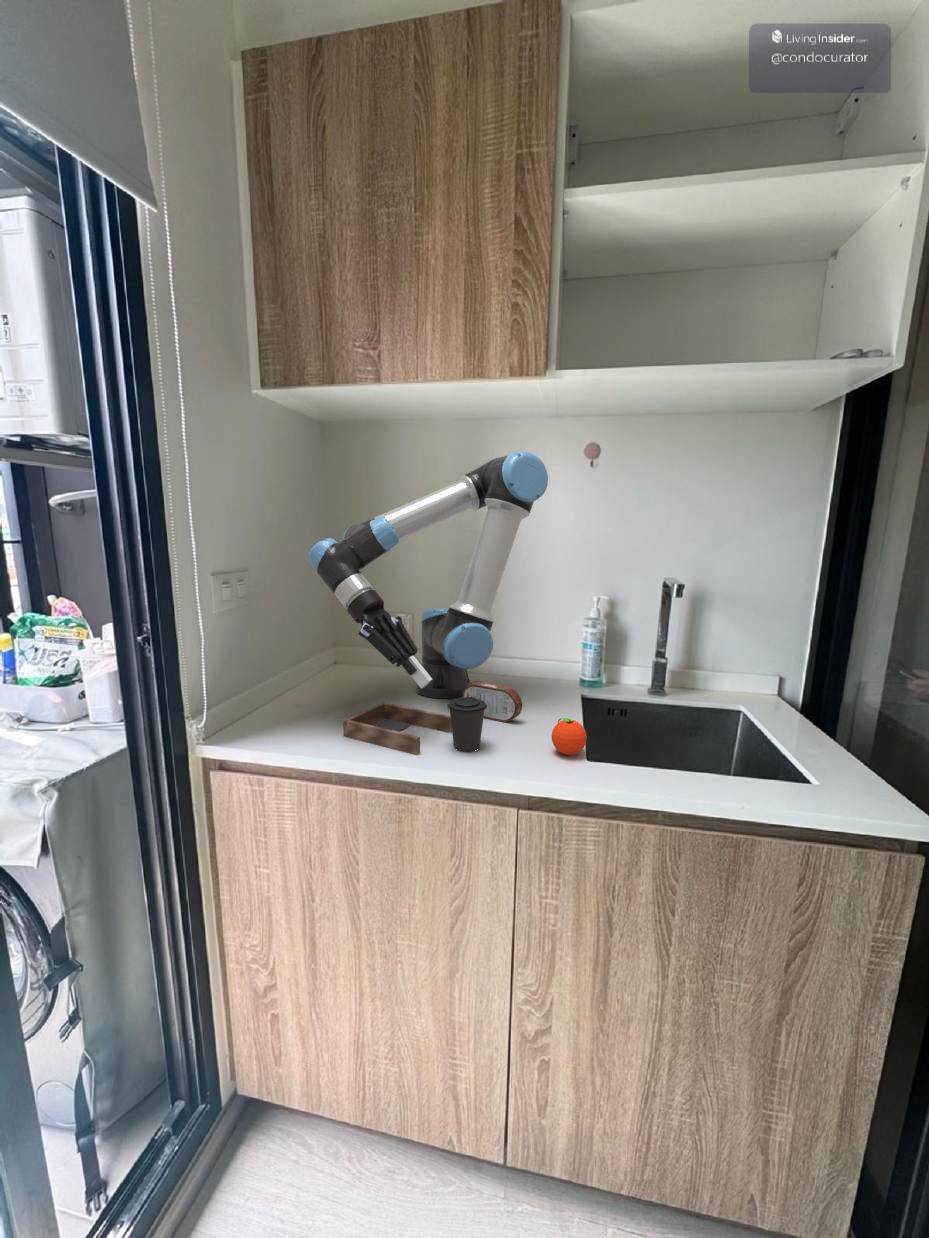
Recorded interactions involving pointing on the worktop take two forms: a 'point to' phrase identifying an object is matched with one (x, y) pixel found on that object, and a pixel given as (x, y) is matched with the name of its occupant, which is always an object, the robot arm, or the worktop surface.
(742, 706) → the worktop surface
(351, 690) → the worktop surface
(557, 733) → the clementine
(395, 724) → the pad
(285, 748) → the worktop surface
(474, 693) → the tin
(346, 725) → the channel
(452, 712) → the coffee cup
